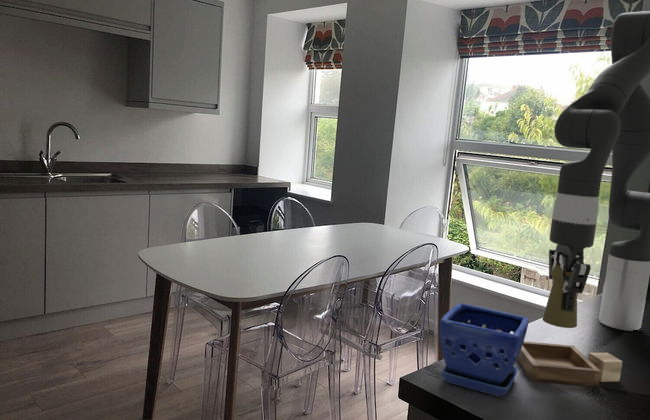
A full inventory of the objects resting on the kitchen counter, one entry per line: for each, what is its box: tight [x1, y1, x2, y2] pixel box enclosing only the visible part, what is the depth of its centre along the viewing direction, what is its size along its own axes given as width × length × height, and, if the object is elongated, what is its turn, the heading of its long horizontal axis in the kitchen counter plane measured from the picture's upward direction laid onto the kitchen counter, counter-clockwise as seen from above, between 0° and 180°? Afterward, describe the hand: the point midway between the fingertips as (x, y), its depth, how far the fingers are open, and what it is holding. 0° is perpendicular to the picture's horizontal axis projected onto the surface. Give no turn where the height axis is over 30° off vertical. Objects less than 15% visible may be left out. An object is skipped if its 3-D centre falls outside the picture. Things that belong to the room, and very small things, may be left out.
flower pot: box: [439, 303, 530, 397], centre depth 96 cm, size 13×13×12 cm
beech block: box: [587, 352, 624, 383], centre depth 103 cm, size 4×4×4 cm
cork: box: [542, 265, 578, 329], centre depth 102 cm, size 6×6×11 cm
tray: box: [516, 340, 601, 388], centre depth 104 cm, size 12×12×3 cm
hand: (561, 308), depth 102 cm, fingers closed on cork, 3 cm apart
